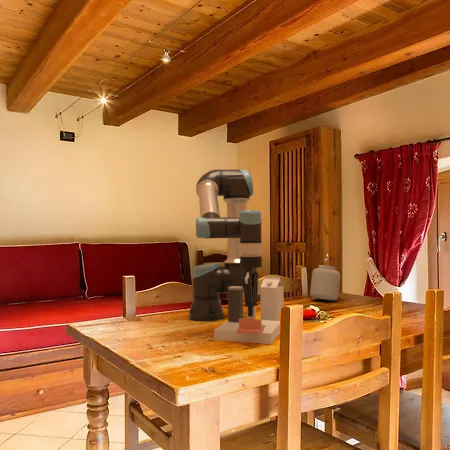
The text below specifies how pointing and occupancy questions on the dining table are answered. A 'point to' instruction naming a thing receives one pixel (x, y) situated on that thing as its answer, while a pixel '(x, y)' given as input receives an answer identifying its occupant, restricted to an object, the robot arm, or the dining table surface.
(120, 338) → the dining table surface
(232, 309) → the plug
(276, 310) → the milk carton
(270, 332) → the socket plate
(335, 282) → the jar
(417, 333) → the dining table surface
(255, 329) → the salmon red stepped block
